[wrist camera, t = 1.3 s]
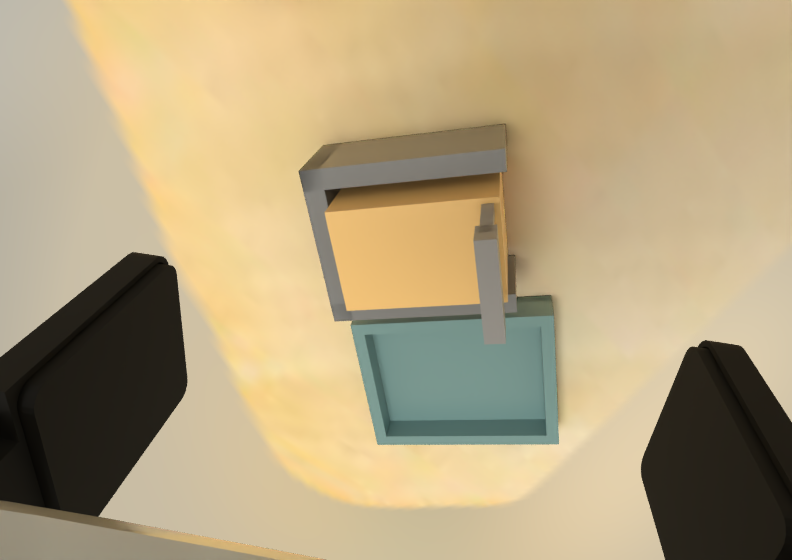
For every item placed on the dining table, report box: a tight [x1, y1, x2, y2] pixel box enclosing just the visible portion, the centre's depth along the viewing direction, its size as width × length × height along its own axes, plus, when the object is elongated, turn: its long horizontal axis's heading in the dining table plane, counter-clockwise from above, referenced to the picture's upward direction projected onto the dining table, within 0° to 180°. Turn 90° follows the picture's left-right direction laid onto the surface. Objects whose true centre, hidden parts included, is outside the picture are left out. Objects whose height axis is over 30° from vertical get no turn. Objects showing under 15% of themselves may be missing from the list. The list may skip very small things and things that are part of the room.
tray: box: [351, 295, 559, 445], centre depth 41 cm, size 13×11×2 cm
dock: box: [299, 124, 517, 321], centre depth 35 cm, size 11×10×5 cm
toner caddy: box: [324, 172, 508, 345], centre depth 32 cm, size 9×6×11 cm, turn 99°
